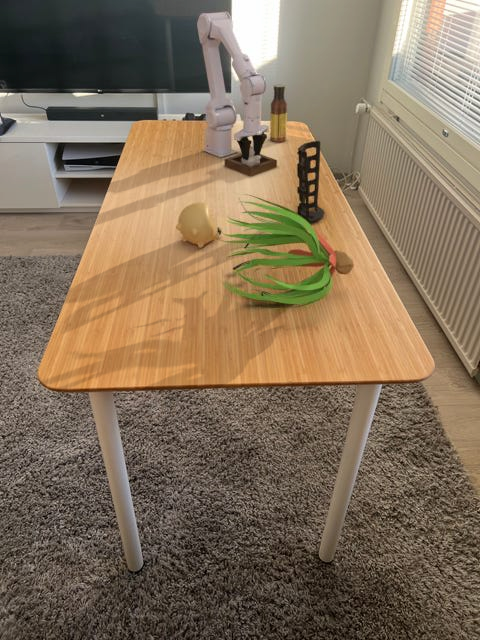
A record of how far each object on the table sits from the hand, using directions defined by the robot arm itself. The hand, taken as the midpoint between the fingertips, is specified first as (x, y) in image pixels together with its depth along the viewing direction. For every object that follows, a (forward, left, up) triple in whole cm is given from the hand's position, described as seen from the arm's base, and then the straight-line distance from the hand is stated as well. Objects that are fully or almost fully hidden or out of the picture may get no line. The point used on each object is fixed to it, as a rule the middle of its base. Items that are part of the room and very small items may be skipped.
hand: (251, 157), depth 175 cm
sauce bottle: (-13, +28, -3) cm, 31 cm away
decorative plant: (+60, -51, -3) cm, 79 cm away
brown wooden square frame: (0, 0, -3) cm, 3 cm away
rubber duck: (0, 0, -3) cm, 3 cm away
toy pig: (+29, -48, -3) cm, 56 cm away
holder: (+38, -15, -3) cm, 41 cm away
